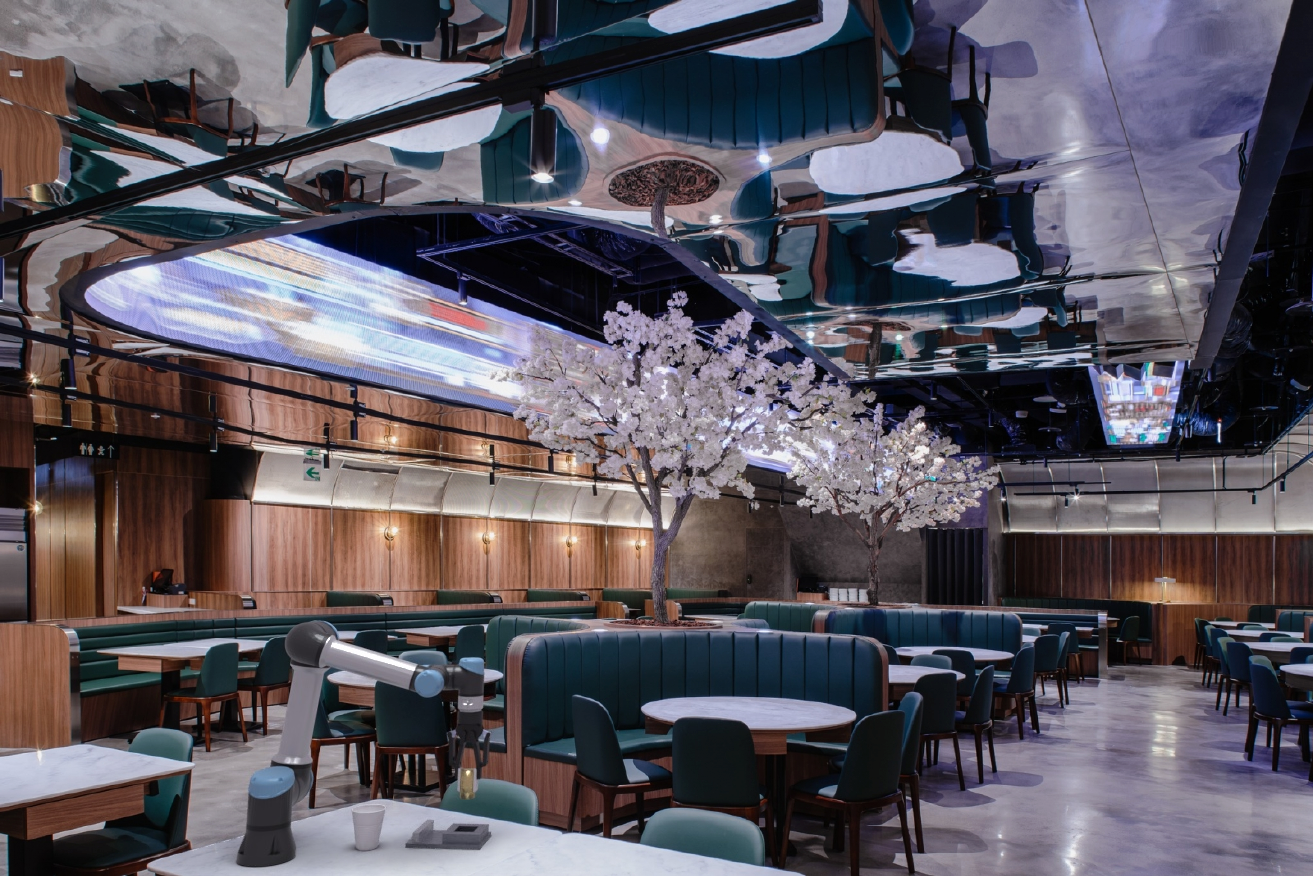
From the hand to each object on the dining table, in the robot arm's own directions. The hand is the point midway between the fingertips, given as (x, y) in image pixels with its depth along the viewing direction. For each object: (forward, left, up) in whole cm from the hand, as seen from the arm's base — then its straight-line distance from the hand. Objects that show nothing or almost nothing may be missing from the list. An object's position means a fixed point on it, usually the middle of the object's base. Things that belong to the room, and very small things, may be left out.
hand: (467, 790), depth 268 cm
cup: (-27, -8, -15) cm, 32 cm away
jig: (-5, 0, -15) cm, 16 cm away
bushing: (0, 0, -2) cm, 2 cm away
